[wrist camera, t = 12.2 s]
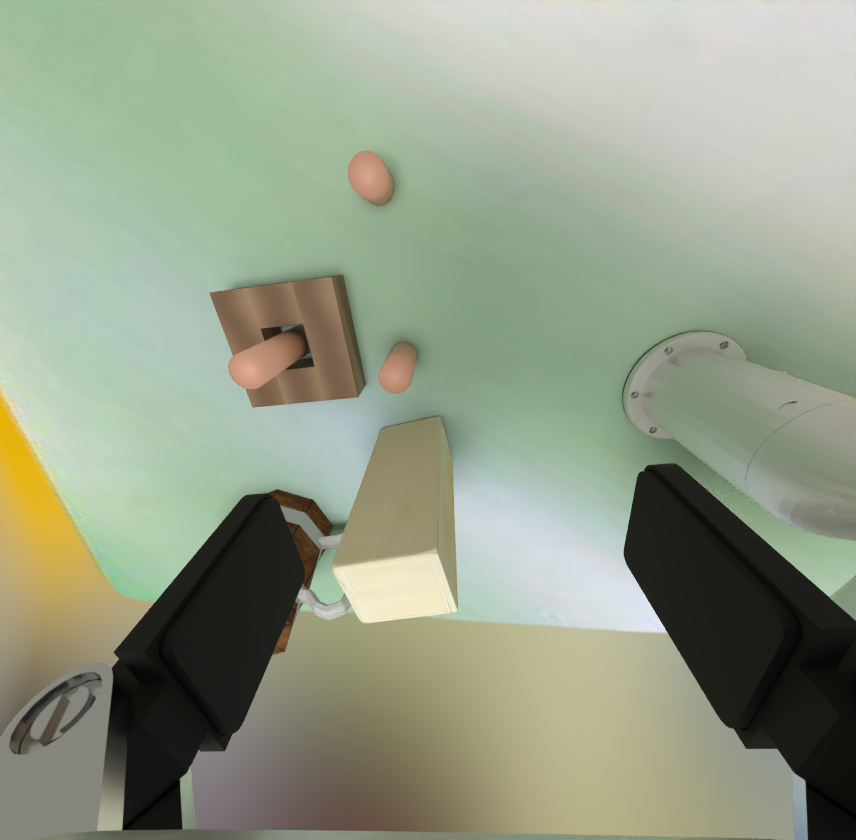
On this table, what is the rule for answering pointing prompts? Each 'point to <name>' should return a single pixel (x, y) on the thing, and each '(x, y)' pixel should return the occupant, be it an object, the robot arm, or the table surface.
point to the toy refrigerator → (402, 528)
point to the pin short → (370, 178)
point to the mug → (308, 556)
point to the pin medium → (398, 368)
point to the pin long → (268, 358)
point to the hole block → (325, 329)
